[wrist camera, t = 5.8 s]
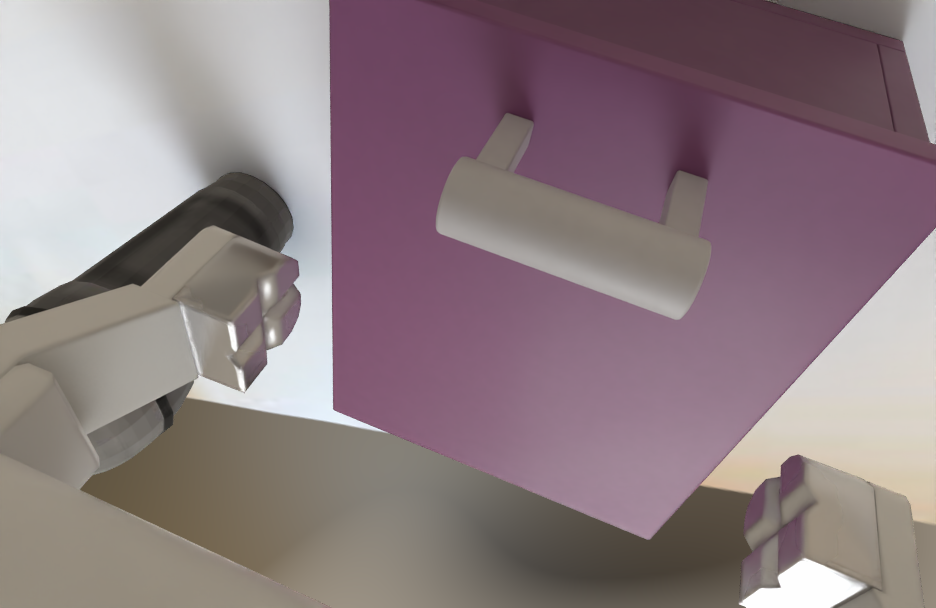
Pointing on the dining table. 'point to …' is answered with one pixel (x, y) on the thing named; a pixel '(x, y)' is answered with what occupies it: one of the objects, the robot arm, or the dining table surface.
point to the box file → (757, 50)
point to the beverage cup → (220, 204)
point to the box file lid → (589, 248)
